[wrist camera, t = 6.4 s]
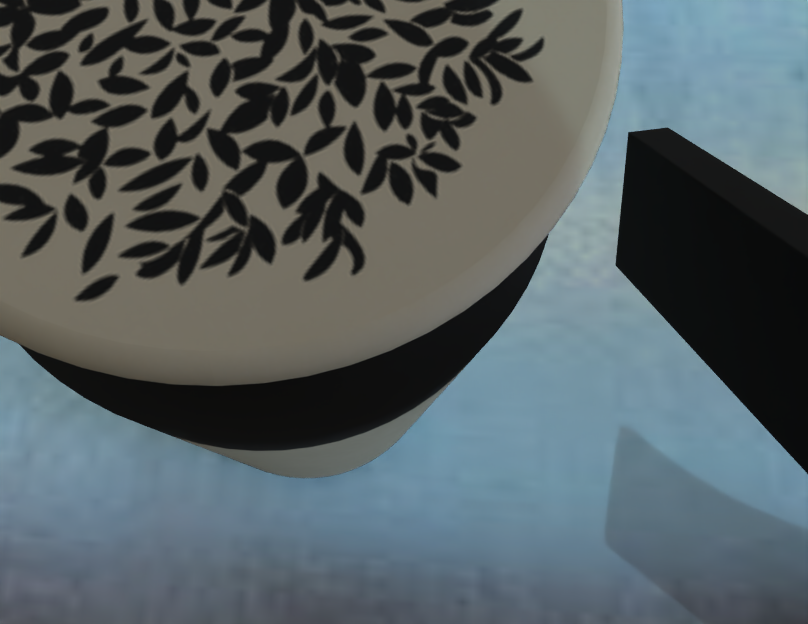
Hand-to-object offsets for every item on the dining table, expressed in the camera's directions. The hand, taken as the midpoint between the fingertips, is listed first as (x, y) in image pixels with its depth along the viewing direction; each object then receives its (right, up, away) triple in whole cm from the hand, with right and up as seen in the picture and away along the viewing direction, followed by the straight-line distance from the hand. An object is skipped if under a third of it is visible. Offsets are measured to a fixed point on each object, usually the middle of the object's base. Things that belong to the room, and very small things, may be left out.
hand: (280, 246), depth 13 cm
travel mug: (-1, -2, +11) cm, 11 cm away
